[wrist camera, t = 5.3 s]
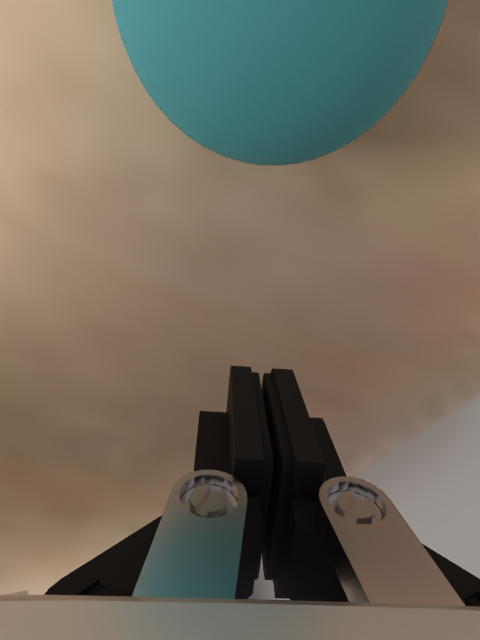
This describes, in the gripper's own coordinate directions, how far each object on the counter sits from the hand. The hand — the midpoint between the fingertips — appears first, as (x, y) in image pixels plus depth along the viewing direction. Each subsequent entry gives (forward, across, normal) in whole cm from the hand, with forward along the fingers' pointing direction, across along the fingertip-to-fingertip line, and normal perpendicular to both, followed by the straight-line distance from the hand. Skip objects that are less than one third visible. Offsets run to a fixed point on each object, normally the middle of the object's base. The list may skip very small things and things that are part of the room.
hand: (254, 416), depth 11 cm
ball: (-1, +1, -9) cm, 9 cm away
